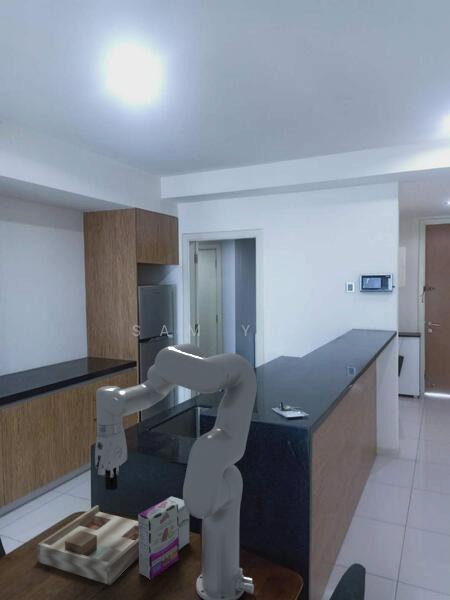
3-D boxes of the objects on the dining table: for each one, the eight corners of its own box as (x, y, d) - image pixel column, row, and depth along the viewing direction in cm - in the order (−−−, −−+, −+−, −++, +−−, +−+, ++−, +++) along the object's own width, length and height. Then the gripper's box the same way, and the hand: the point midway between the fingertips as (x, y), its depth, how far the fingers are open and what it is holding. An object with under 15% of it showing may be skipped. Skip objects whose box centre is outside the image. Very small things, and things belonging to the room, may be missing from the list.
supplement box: (174, 554, 128) (174, 511, 128) (155, 546, 132) (155, 504, 132) (190, 542, 135) (190, 501, 134) (171, 535, 139) (171, 495, 138)
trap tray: (161, 536, 138) (161, 520, 138) (110, 585, 115) (110, 565, 115) (96, 520, 148) (96, 505, 148) (37, 561, 125) (37, 544, 125)
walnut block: (96, 549, 126) (96, 535, 126) (81, 561, 120) (81, 546, 120) (80, 544, 128) (80, 530, 128) (65, 555, 123) (64, 541, 123)
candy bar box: (166, 554, 129) (166, 498, 128) (179, 560, 126) (179, 503, 125) (137, 573, 120) (137, 513, 119) (150, 581, 117) (150, 519, 116)
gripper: (104, 436, 126) (105, 501, 126) (134, 422, 140) (136, 481, 140) (83, 434, 129) (84, 497, 129) (115, 420, 142) (116, 478, 142)
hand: (111, 488), depth 134 cm, fingers closed
